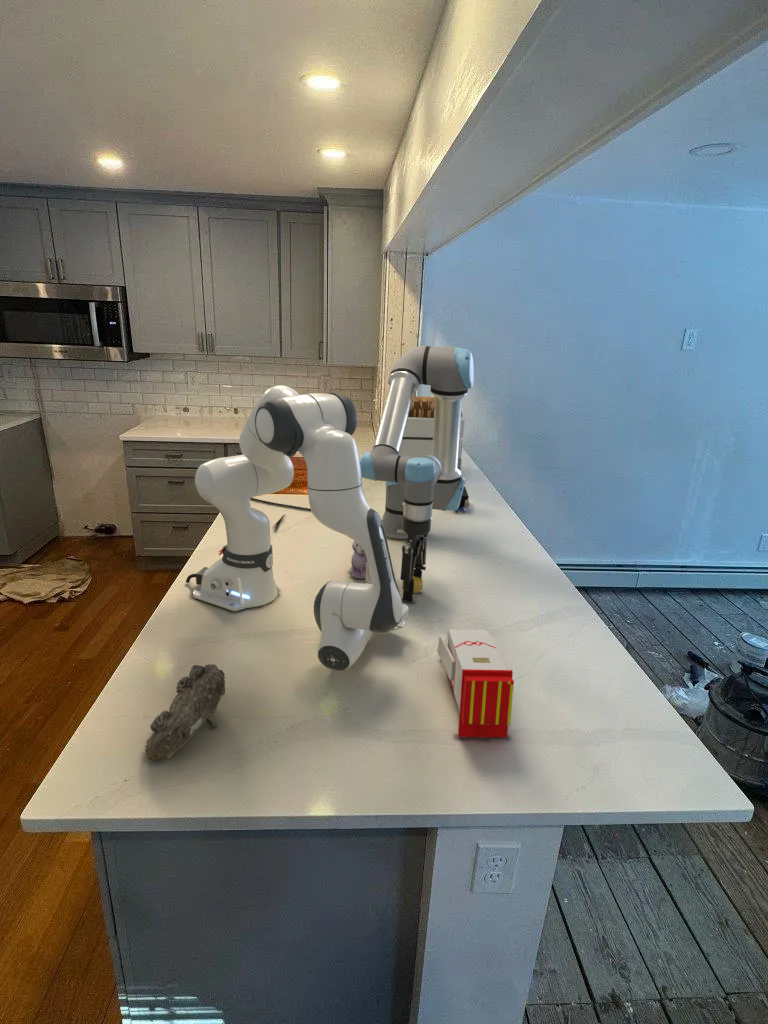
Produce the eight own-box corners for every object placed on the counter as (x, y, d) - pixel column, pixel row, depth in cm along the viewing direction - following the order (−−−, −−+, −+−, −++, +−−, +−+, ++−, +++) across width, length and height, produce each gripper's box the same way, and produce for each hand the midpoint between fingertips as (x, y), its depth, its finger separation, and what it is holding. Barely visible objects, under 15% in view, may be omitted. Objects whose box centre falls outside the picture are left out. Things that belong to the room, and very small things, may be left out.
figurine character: (469, 517, 223) (463, 501, 236) (471, 500, 219) (465, 484, 233) (452, 516, 222) (447, 500, 236) (454, 499, 219) (449, 483, 232)
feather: (291, 508, 223) (294, 504, 222) (274, 533, 196) (277, 528, 195) (287, 506, 222) (290, 502, 222) (270, 530, 196) (272, 526, 195)
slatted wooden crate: (382, 463, 289) (386, 382, 275) (445, 464, 293) (451, 384, 279) (390, 482, 257) (394, 392, 243) (460, 483, 261) (468, 394, 247)
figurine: (357, 582, 163) (358, 534, 158) (342, 568, 171) (343, 521, 166) (386, 576, 167) (388, 529, 162) (370, 563, 176) (372, 517, 171)
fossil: (174, 665, 116) (226, 633, 111) (207, 696, 118) (259, 665, 113) (119, 753, 96) (179, 718, 91) (161, 787, 99) (221, 755, 94)
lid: (400, 592, 154) (401, 583, 153) (403, 582, 159) (403, 575, 158) (421, 594, 153) (421, 586, 152) (423, 585, 158) (424, 577, 157)
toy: (488, 613, 130) (523, 677, 101) (484, 667, 133) (517, 744, 104) (435, 612, 130) (455, 676, 101) (432, 666, 133) (451, 743, 103)
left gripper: (401, 618, 127) (415, 591, 140) (317, 602, 133) (338, 577, 145) (400, 642, 130) (414, 613, 142) (317, 625, 135) (337, 599, 147)
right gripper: (416, 504, 159) (411, 579, 166) (390, 525, 142) (385, 607, 150) (441, 509, 156) (435, 585, 163) (418, 530, 140) (412, 613, 147)
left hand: (375, 595), depth 144 cm, fingers closed on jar, 5 cm apart
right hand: (411, 595), depth 157 cm, fingers closed on lid, 6 cm apart
